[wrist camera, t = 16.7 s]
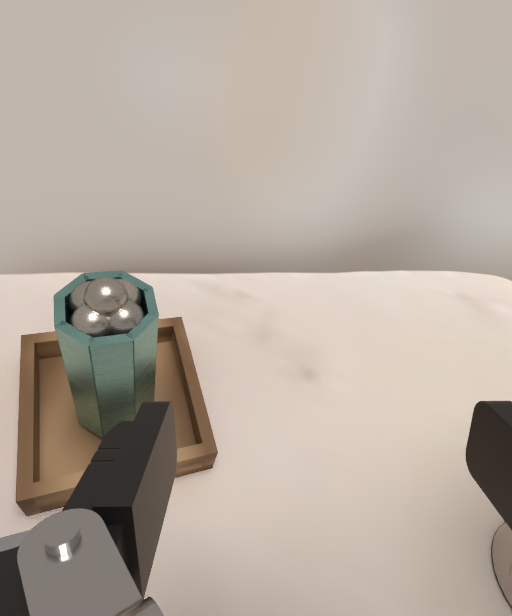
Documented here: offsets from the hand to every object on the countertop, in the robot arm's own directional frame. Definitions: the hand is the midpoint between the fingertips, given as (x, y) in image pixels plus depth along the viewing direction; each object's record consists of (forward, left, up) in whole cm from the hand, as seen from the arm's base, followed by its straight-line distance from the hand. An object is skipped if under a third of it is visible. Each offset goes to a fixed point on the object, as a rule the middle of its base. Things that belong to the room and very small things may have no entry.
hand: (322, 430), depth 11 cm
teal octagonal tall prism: (+5, -15, -24) cm, 29 cm away
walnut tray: (+5, -15, -25) cm, 30 cm away
